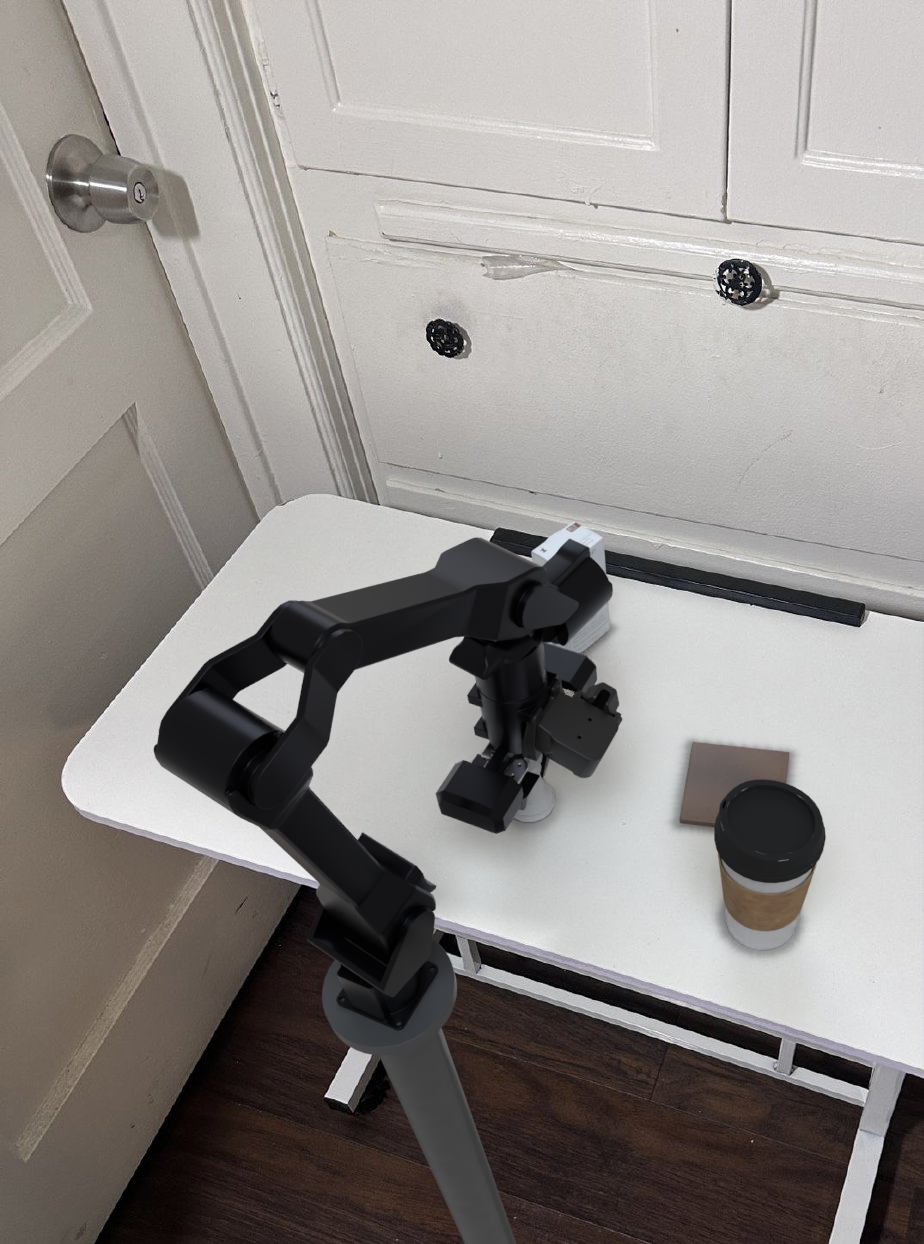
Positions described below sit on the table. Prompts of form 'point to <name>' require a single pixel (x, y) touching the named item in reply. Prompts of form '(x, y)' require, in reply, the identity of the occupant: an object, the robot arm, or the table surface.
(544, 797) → the rook chess piece
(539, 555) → the cosmetic box
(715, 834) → the coffee cup
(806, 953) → the table surface
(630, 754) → the table surface
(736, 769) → the walnut coaster
